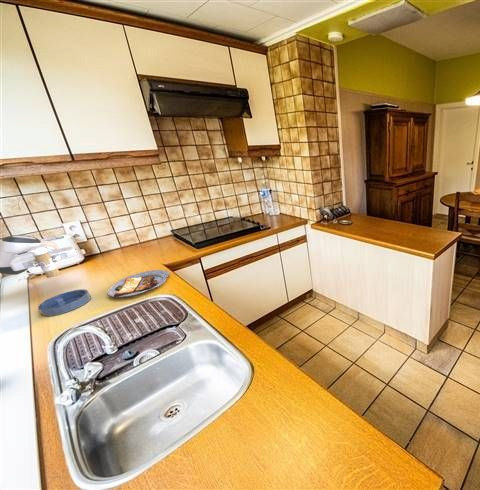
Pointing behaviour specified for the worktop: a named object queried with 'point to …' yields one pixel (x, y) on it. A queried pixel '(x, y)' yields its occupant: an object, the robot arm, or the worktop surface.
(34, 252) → the sprinkles bottle
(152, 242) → the worktop surface
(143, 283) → the food plate
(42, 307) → the bowl
